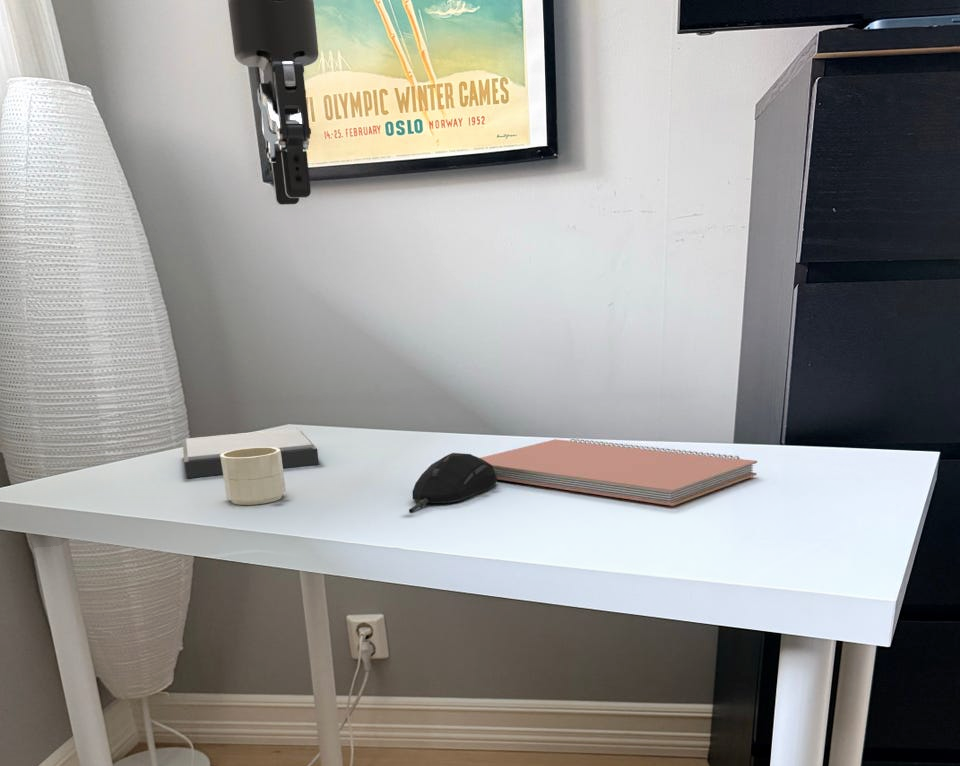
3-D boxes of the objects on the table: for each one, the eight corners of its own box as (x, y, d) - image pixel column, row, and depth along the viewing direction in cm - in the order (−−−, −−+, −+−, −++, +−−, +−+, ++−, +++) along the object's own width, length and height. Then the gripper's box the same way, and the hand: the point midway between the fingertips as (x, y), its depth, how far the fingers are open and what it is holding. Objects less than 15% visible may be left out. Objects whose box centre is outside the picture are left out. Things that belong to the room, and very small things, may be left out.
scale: (186, 479, 112) (183, 458, 111) (185, 456, 126) (181, 438, 125) (319, 464, 116) (317, 444, 115) (302, 445, 130) (300, 427, 129)
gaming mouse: (383, 510, 92) (380, 470, 90) (457, 479, 104) (455, 443, 102) (438, 515, 89) (435, 473, 87) (507, 482, 101) (506, 445, 99)
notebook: (761, 475, 98) (762, 456, 97) (672, 508, 87) (673, 487, 86) (560, 451, 116) (560, 435, 115) (466, 476, 104) (465, 458, 104)
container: (229, 508, 96) (221, 460, 94) (225, 496, 101) (218, 450, 100) (289, 501, 97) (283, 454, 96) (282, 490, 103) (277, 444, 101)
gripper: (223, 19, 88) (247, 208, 94) (232, -25, 75) (259, 195, 81) (302, 21, 90) (321, 205, 96) (324, -22, 77) (344, 193, 83)
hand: (293, 201), depth 88 cm, fingers open, 8 cm apart
